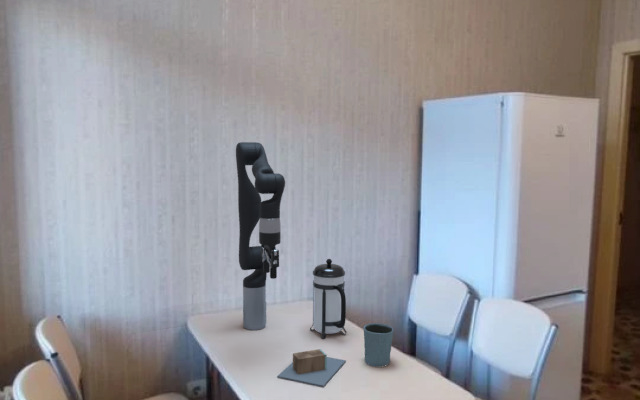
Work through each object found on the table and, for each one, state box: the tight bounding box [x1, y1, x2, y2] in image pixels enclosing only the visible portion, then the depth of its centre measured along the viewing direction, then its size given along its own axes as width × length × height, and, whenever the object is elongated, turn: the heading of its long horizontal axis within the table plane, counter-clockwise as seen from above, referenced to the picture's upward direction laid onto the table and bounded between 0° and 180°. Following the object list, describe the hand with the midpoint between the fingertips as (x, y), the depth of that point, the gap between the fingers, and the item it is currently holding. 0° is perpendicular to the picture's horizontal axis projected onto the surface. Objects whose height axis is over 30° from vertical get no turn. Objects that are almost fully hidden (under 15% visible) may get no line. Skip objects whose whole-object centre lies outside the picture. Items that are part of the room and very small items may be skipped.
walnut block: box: [292, 348, 328, 374], centre depth 164 cm, size 5×5×10 cm
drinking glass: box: [363, 322, 394, 368], centre depth 171 cm, size 10×10×12 cm
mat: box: [276, 356, 346, 388], centre depth 165 cm, size 20×16×1 cm
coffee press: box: [309, 258, 347, 340], centre depth 195 cm, size 17×16×30 cm
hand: (269, 275), depth 176 cm, fingers open, 8 cm apart
